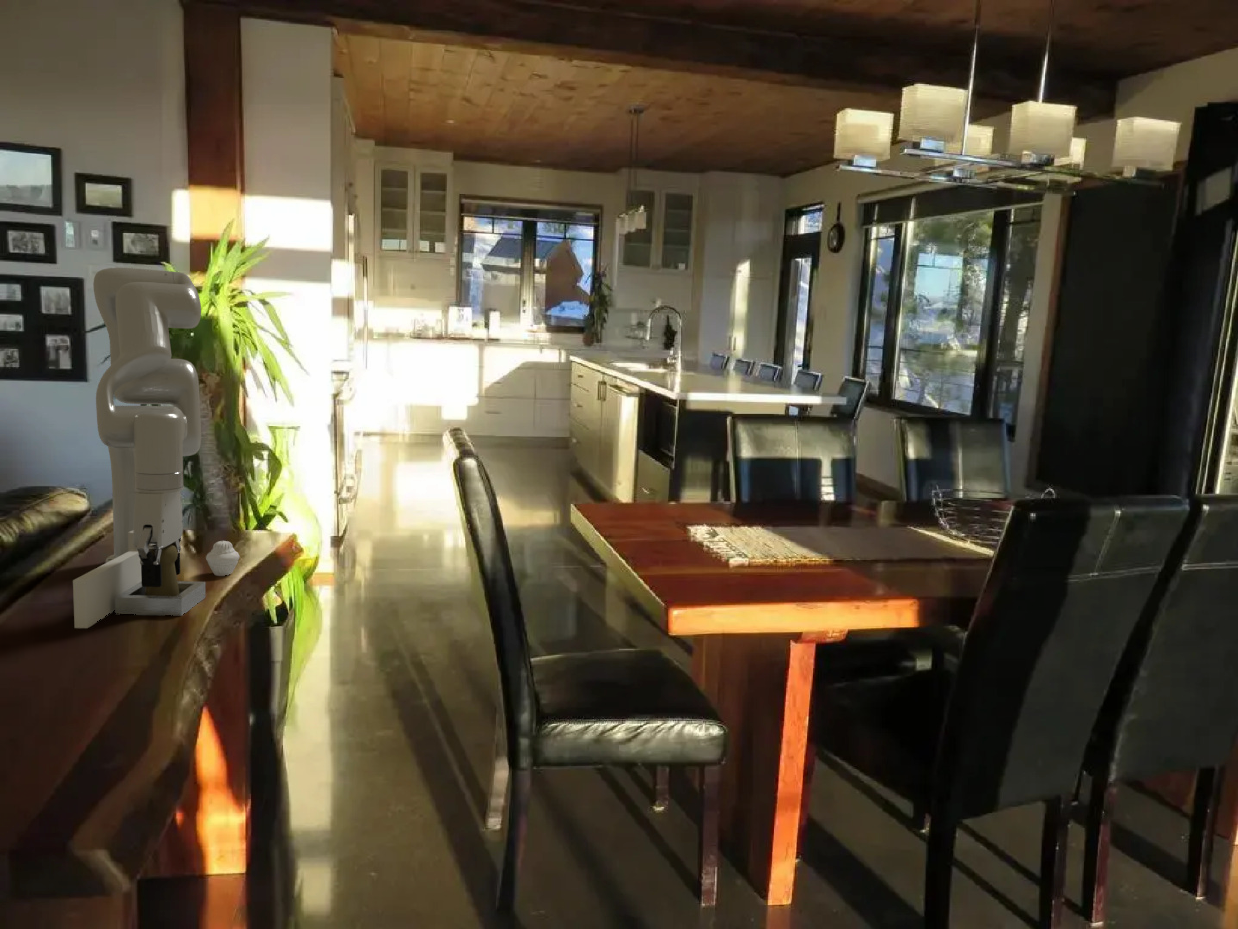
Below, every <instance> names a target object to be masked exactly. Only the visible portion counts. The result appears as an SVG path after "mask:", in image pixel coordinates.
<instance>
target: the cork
mask: <svg viewBox="0 0 1238 929" xmlns="http://www.w3.org/2000/svg"><path fill="white" fill-rule="evenodd" d="M151 546H157V544H155V545H151ZM149 552H152V554H153V555H154V556H155V551H149ZM178 553H179V552H177V549H176V547H175V546H174V545H171V544H170V545H168V546H166V547H165V548H163V549H162V550H161V556H160V561H159V564H162V586H160V587H146V589H145V596H177V595H179V594H180V593H179V587H178V581H179V580H178V577H177V576H178V575H176V569H175V563H174V562H175V561H176V559H177V556H178Z"/></svg>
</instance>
